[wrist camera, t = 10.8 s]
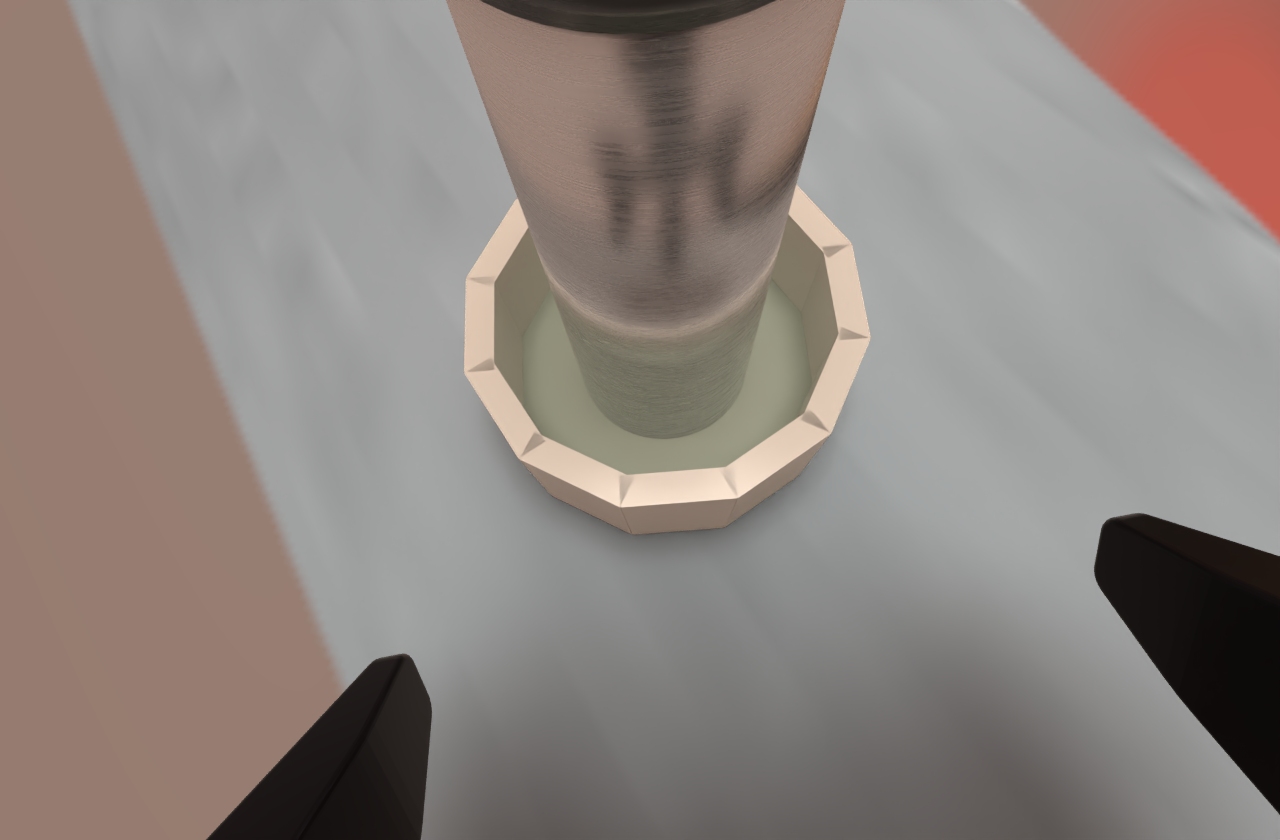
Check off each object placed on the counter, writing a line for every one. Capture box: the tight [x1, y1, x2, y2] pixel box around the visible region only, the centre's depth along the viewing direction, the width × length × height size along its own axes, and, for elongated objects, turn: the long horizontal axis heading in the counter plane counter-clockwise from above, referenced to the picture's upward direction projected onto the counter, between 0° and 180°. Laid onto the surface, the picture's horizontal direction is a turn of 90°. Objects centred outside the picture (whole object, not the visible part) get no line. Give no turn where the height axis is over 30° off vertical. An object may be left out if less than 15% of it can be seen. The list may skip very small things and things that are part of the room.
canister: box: [446, 0, 845, 439], centre depth 12 cm, size 5×5×13 cm
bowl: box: [464, 185, 871, 535], centre depth 17 cm, size 9×9×4 cm
